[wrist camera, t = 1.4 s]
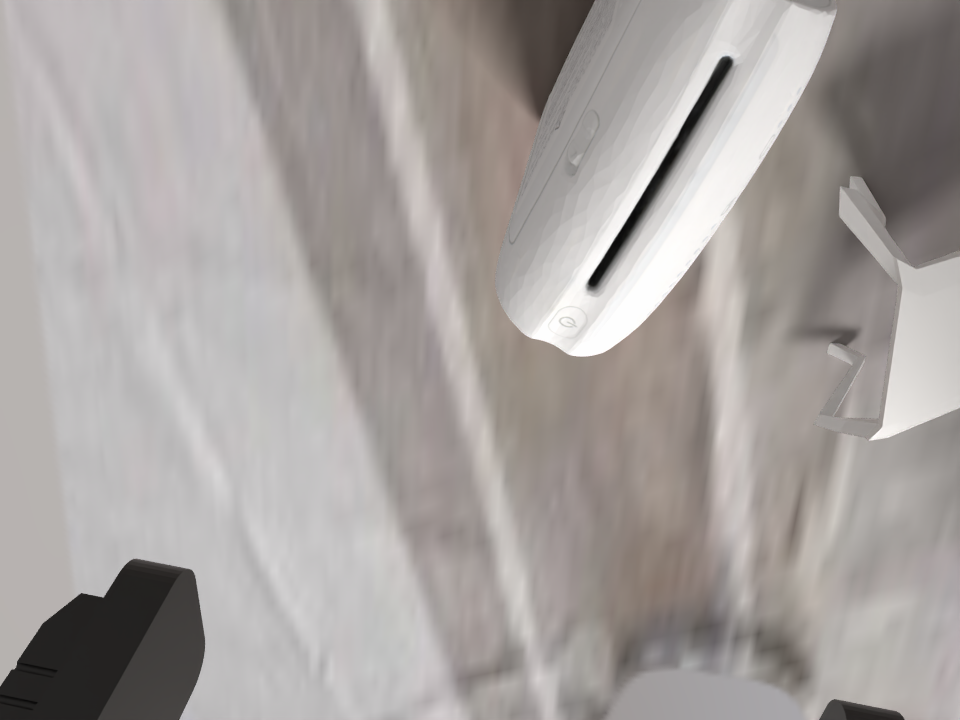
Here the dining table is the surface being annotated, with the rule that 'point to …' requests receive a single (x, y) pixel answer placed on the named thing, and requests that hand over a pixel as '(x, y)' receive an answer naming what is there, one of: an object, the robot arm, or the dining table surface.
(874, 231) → the white arched piece
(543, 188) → the photo printer
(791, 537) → the dining table surface
